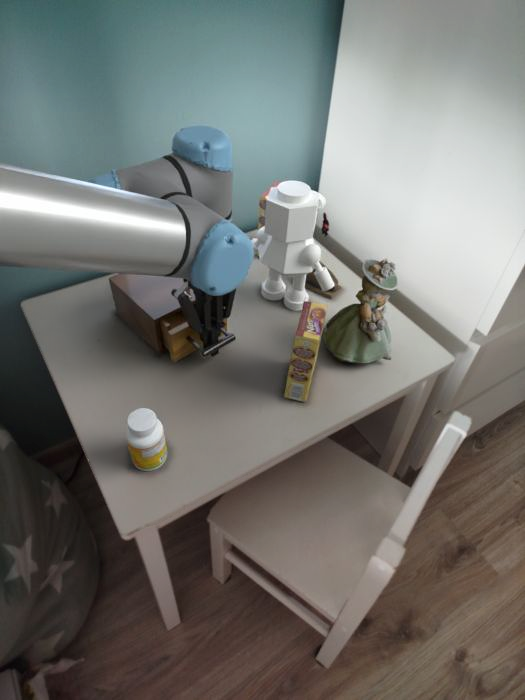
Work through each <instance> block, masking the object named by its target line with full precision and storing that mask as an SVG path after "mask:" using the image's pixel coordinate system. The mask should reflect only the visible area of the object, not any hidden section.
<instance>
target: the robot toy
mask: <svg viewBox="0 0 525 700" xmlns="http://www.w3.org/2000/svg"><path fill="white" fill-rule="evenodd" d="M280 182H281V181H280ZM270 187H271V186H270ZM326 205H327V200H326V197H325V196H324V195H323V194H321V192H318V191H316V190H313V189H312V188H311V187H310V184H309V185H308V184H307V183H305V182H303V181H300V180H291V179H290V180H285V181H282V182H281V183H280V184H279V185H278V187H271V189H270V192H269V194H268V197H267V199H266V214H265V226H264V227H262V228H260V229H259V231H257V233H256V238H255V237H253V238H252V239H250V240H251V242H252V245H253V250H254V255H256V254H257V252H258V251H259V256H258V257H259V258H258V259H259V262H260V263H261V264H263V265H264V266H267V267H268V268H269V273H268V278H267V279H266V280H264V281H262V283H261V295H262V297H263V298H264V299H266V300H269V301H280V300H282V299H283V304H284V306H285V307H286V308H287V309H289V310H291V311H297V312H299V311H300V312H301V311H302V307H303V302H304V301H307V302H310V301H309V300H310V295H309V293H308V292H307V290H306V288H305V281H306V274H308V273H309V272H312V271H313V269H314V268H315V270H316V271H315V272H314V275H315V277H316V279H317V280H318V282H319V284H320V286H321V288H322V290H323V291H327V290H329V289H331V288H332V287H334V285H335V284H334V282H333V280H332V278H331V276H330V274H329V272H328V270H327V268H328V267H327V266H326V267H327V268H326V267H322V266H321V264H320V263H319V261H320V262H321V258H322V249H321V247H320V246H319V245H318V244H316V243H315V240H314V232H315V228H316V222H317V216H318V212H320V211H322V210H323V209H324V208H325V206H326ZM282 276H284V277H289V278H292V285H291V287H290V288H289V289H288V290H286V289H287V285H286V283H285V282H284V281H283V279H282Z"/></svg>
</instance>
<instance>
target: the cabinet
mask: <svg viewBox="0 0 525 700" xmlns="http://www.w3.org/2000/svg"><path fill="white" fill-rule="evenodd" d="M108 282H109V287H110V291H111V295H112V300H113V304H114V309H115V312H116V313H117V314H118V316H120V317H121V319H123V320H124V321H125V322H126V323H127V324H128V325H129V326H130V327H131V328H132V329H133V330H134V331H135V332H136V333H137V334H138V335H139V336H140V337H141V338H142V339H143V340H144V341H145V342H146V343H147V344H149V346H150V347H152V348H153V350H155V352H156V353H158V355H160V354H163V353H165V352H166V351H169V350H168V349H167V348H166V347H165V346H164V345H163V344H162V342H161V335H160V328H159V321H161V320H163V319H165V318H166V317H168V316H170V315H172V314H174V313H176V312H178V311H180V310H182V309H181V307H180V304H179V302H178V299H176V298H175V297H174V296H173V295H172V294H171V291H172V290H173V289H175V288H176V289H178V290H179V288H180V287H181V286H182V285H183V284H184V281H183V278H173V277H164V276H151V275H135V274H119V273H116V274H114V275H113V276H110V277H108ZM190 294H191V295H190V296H191V297H192V298H191V299H190V300H191V301H192V303H193V304H194V303H196V301H195V295H194V293H193V290H192V289H190Z"/></svg>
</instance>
